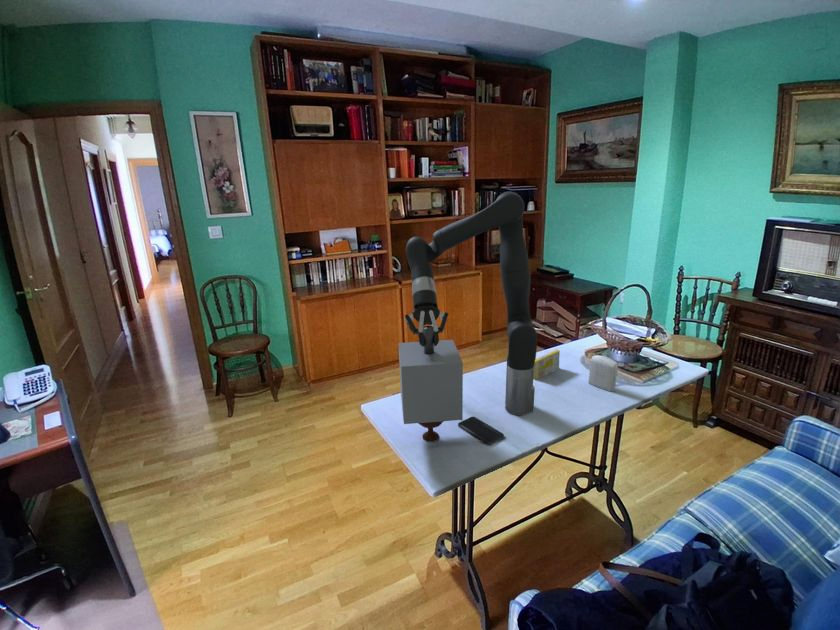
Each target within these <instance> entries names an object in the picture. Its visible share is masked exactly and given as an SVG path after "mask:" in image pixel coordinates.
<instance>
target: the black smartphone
mask: <svg viewBox="0 0 840 630" xmlns="http://www.w3.org/2000/svg"><path fill="white" fill-rule="evenodd" d="M457 426H458V428H460V429H461V430H463V432H466V434H469V436H471V437H473V438H475V439H476V440H478V441H479V442H480V443H482V444H484V445H485V446H492V445H494V444H495V443H499V441H501V440H503V439H505V434H504V433H503V432H501V431H499V430H498V429H496V428H494V427H493V426H491V425H489V424H488V423H487V422H484V421H482V420H481V419H480V418H478V417H476V416H470V417H468V418H465V419H464V420H460V421H459V422H457Z"/></svg>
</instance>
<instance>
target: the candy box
mask: <svg viewBox="0 0 840 630" xmlns="http://www.w3.org/2000/svg"><path fill="white" fill-rule="evenodd" d="M560 353H561V352H560V350H558V349H555V350H553V351H551V352H549V353H547V354H544V355H542V356H540V357H538V358H536V359H535V362H534V375H533V380H534V379H535V380H534V381H536V380H538V379H540V378H542V376H543V377H545V376H546V374H547V375H548V373H549V374H550V372H551V373H552V371H553V372H554V370H555V371H556V370H557V371H558V370H559V369H560ZM558 368H559V369H558ZM544 375H545V376H544Z"/></svg>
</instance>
